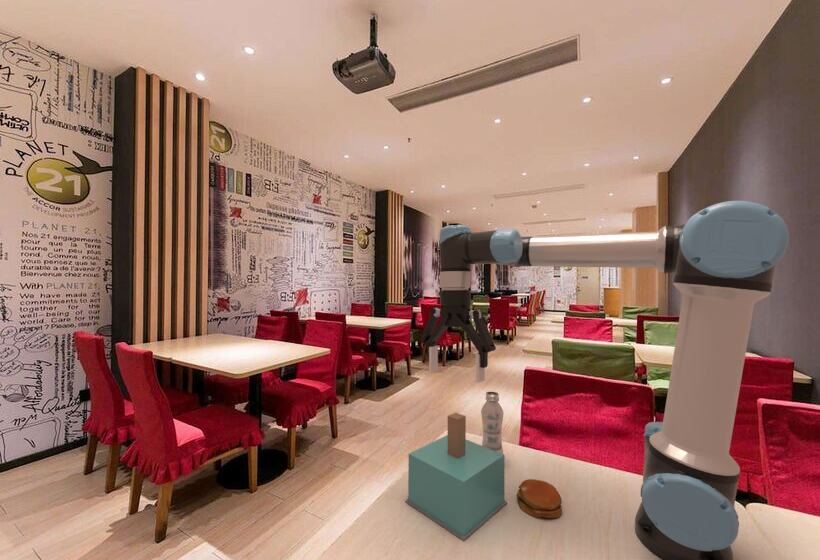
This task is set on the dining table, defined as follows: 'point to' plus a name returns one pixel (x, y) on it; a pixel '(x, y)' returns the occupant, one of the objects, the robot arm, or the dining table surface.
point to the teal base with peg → (456, 479)
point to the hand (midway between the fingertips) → (455, 376)
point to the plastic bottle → (492, 422)
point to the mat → (450, 528)
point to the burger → (539, 499)
